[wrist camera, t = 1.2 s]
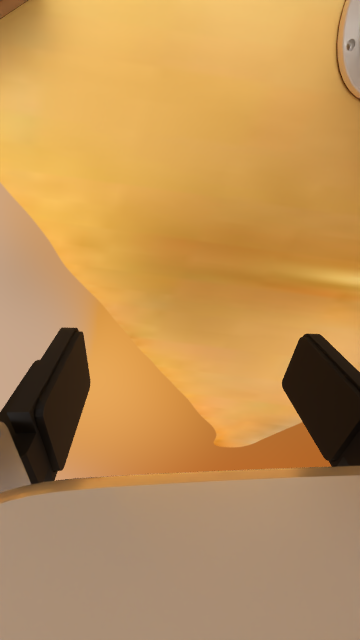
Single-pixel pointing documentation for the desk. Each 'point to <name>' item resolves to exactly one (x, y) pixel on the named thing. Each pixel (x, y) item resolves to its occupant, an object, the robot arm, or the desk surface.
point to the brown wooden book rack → (9, 6)
